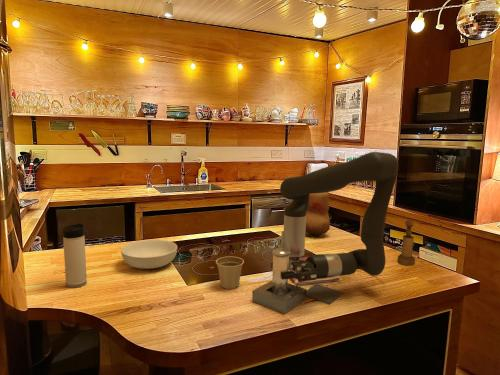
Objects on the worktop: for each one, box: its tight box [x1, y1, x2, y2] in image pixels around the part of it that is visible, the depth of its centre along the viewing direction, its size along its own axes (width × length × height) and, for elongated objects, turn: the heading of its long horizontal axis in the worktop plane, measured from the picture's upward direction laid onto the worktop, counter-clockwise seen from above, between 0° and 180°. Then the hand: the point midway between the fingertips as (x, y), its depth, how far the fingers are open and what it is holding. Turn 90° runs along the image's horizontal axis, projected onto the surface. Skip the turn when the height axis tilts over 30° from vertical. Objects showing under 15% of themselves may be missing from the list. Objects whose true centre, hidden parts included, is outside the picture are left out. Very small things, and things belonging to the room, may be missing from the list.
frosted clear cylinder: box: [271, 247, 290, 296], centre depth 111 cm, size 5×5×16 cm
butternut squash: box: [305, 192, 331, 237], centre depth 182 cm, size 14×13×25 cm
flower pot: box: [215, 255, 245, 290], centre depth 122 cm, size 9×9×9 cm
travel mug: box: [62, 223, 88, 289], centre depth 120 cm, size 6×7×20 cm
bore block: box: [251, 280, 308, 315], centre depth 112 cm, size 12×12×4 cm
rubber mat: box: [306, 284, 344, 305], centre depth 117 cm, size 10×10×1 cm
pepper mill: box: [396, 219, 416, 266], centre depth 146 cm, size 7×6×18 cm
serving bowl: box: [120, 239, 178, 270], centre depth 139 cm, size 21×21×7 cm
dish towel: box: [288, 256, 340, 287], centre depth 136 cm, size 17×23×3 cm
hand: (275, 270), depth 110 cm, fingers open, 8 cm apart
